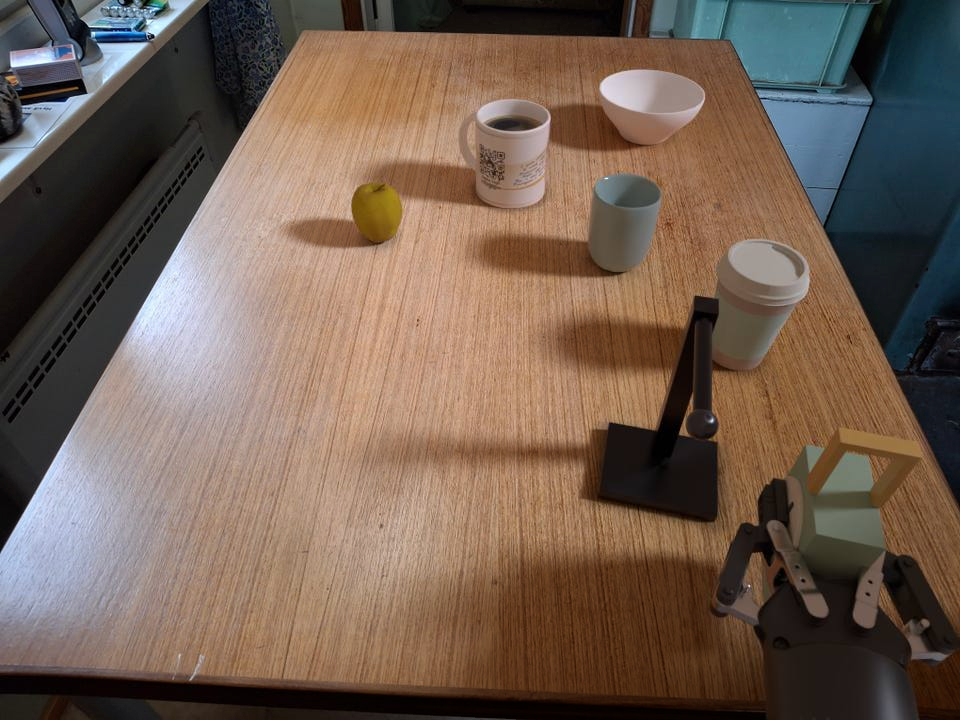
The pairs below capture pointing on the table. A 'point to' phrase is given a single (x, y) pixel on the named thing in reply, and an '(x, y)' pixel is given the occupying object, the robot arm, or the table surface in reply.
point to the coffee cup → (755, 299)
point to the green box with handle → (842, 501)
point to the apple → (376, 211)
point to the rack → (672, 436)
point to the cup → (622, 220)
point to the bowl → (649, 104)
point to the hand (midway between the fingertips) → (812, 493)
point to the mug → (508, 152)
